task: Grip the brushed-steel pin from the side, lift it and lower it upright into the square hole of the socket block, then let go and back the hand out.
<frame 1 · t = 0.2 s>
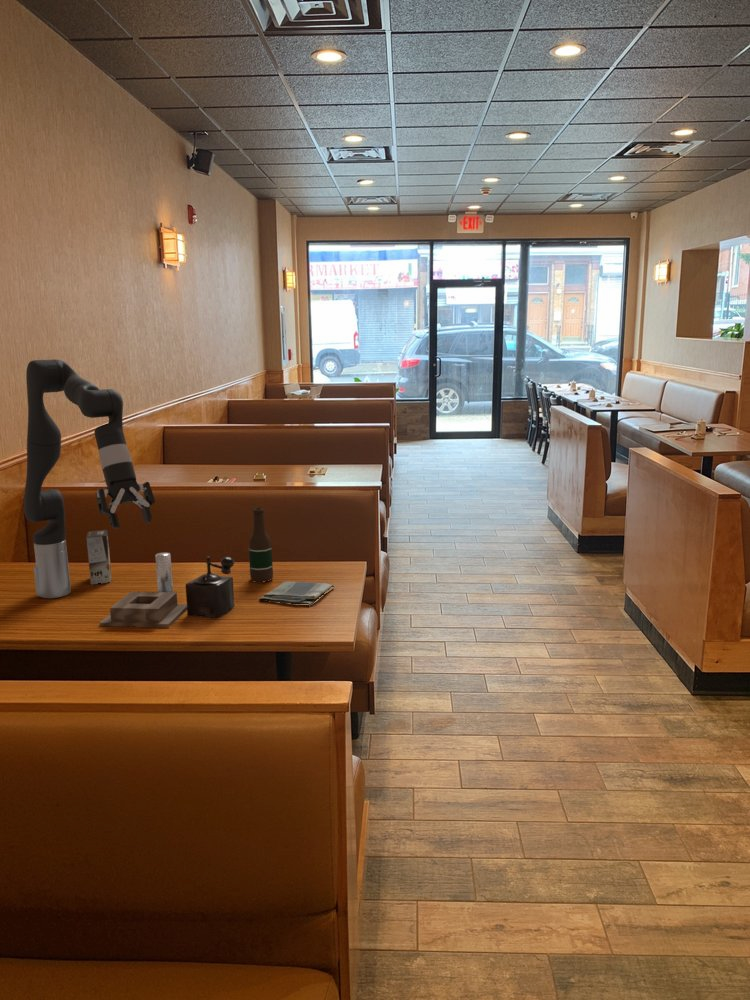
hand: (132, 525, 194), 31 cm above the table, tool tilted 20°, fingers open, 8 cm apart
dish towel: (297, 597, 235), on the table
socket block: (145, 616, 218), on the table
coffee box: (101, 580, 253), on the table
dark manual coffee grinder: (218, 612, 221), on the table
beer bottle: (261, 580, 251), on the table
pin: (166, 598, 234), on the table
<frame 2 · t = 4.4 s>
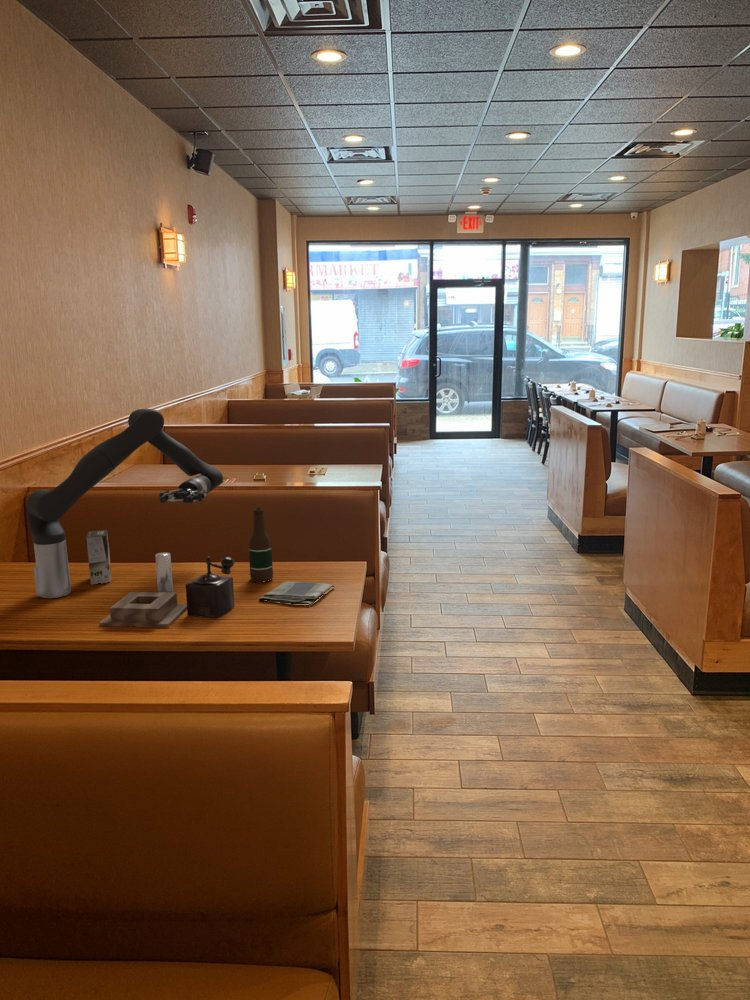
hand: (174, 500, 240), 28 cm above the table, tool horizontal, fingers open, 8 cm apart
nothing on the table moved.
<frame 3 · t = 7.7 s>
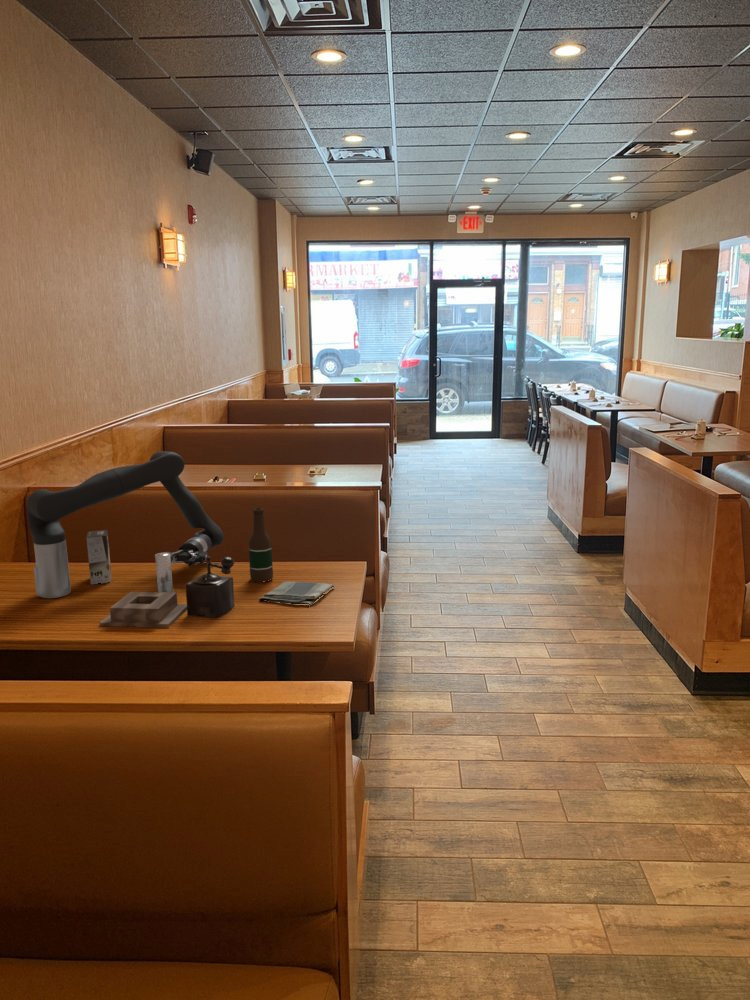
hand: (176, 563, 242), 8 cm above the table, tool horizontal, fingers open, 8 cm apart
nothing on the table moved.
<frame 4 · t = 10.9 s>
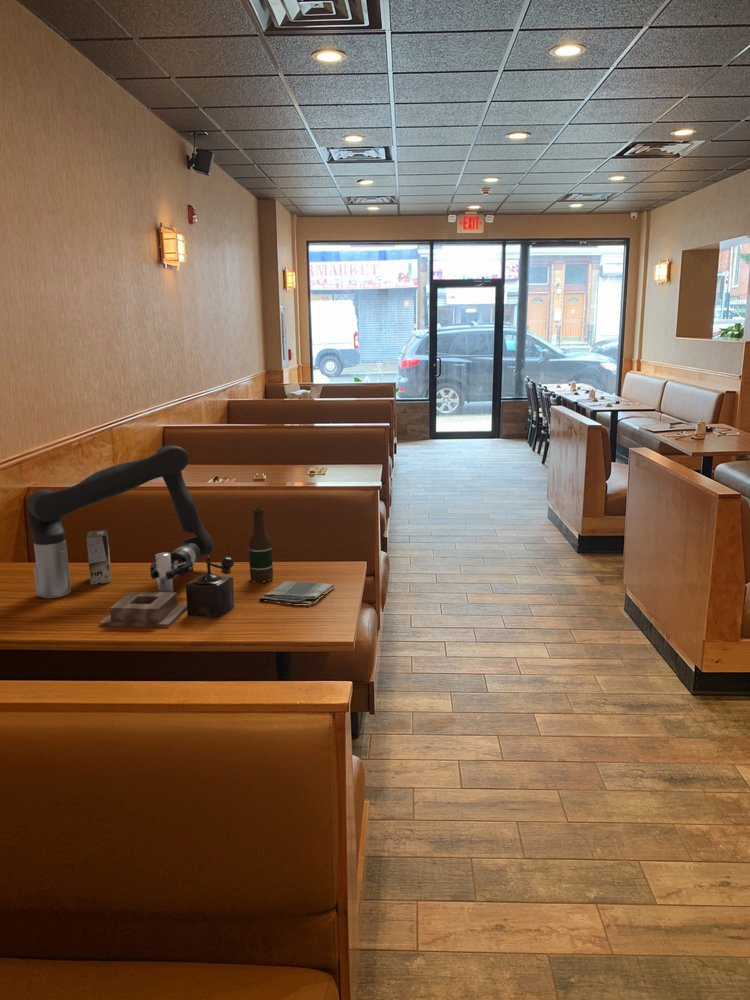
hand: (161, 575, 229), 8 cm above the table, tool horizontal, fingers closed on pin, 4 cm apart
pin: (166, 598, 234), on the table, touching gripper
everything else where it was.
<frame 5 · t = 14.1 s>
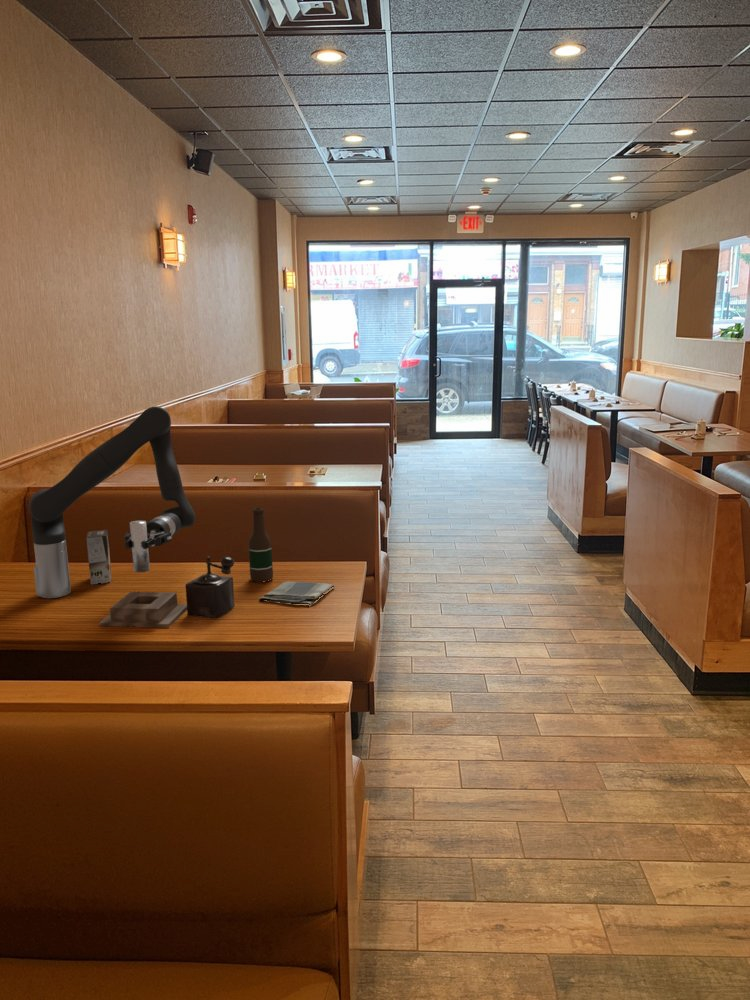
hand: (135, 545, 211), 22 cm above the table, tool horizontal, fingers closed on pin, 4 cm apart
pin: (141, 570, 215), point 14 cm above the table, touching gripper
everything else where it was.
when the fingers open (10 cm above the table, at t = 17.6 s): pin drops 1 cm, resting on socket block.
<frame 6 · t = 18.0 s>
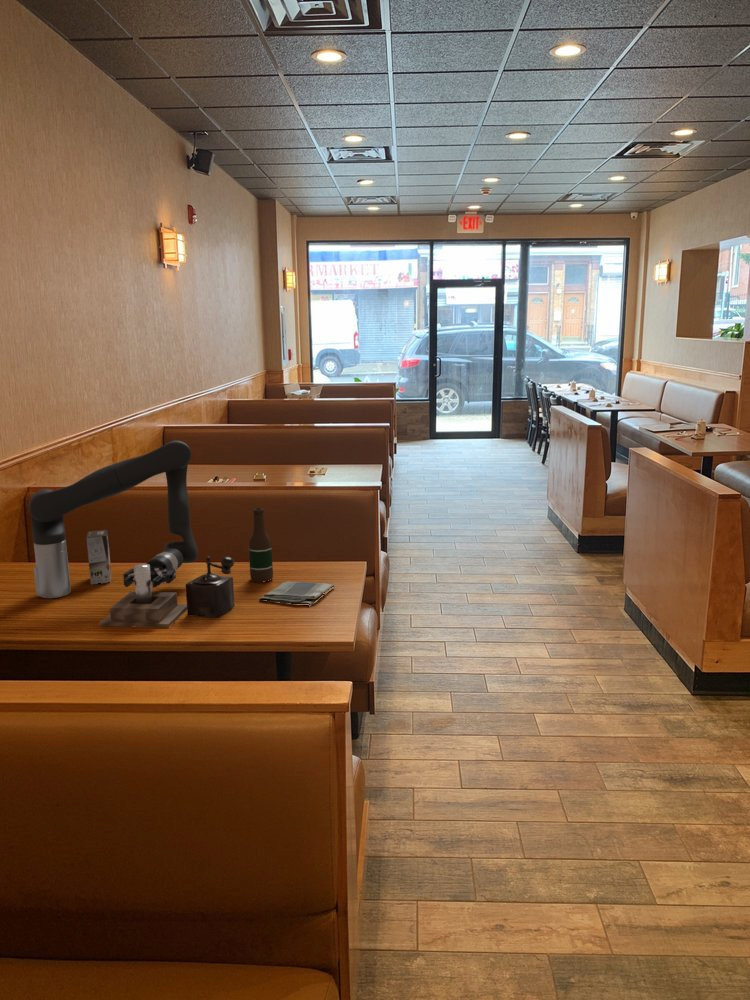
hand: (139, 583, 214), 11 cm above the table, tool horizontal, fingers open, 8 cm apart
pin: (145, 612, 218), point 1 cm above the table, touching socket block
everything else where it was.
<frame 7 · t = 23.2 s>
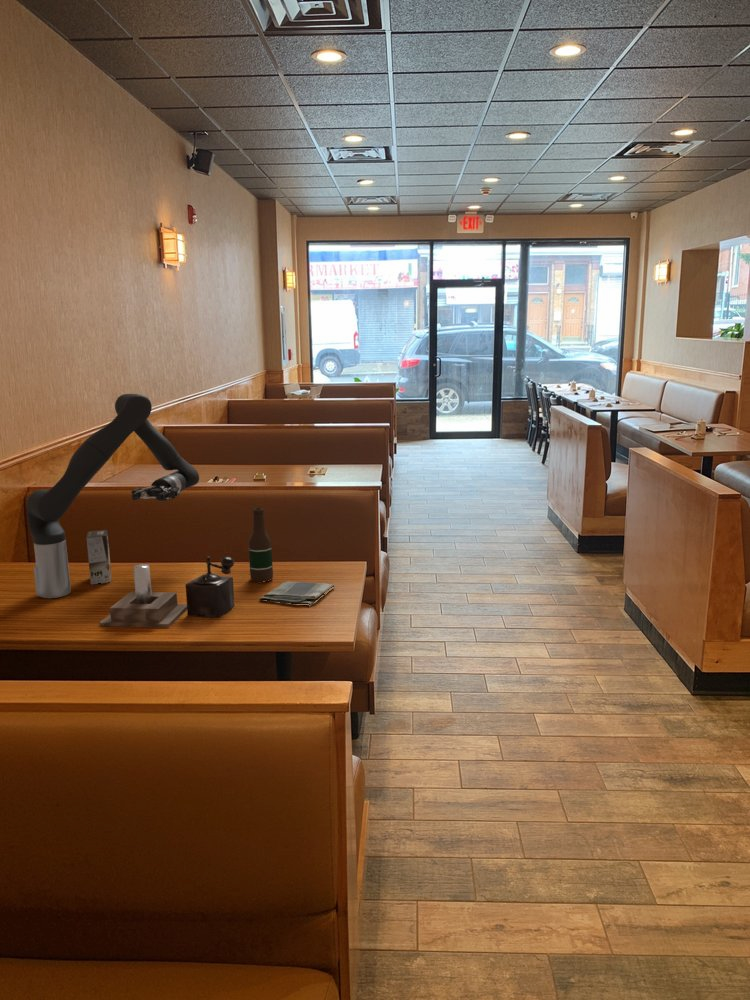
hand: (147, 497, 236), 30 cm above the table, tool horizontal, fingers open, 8 cm apart
nothing on the table moved.
at the end: pin 0.1 cm off-centre on the socket block, point 1.0 cm above the socket block's base; pin tilted 0°; the gripper is holding nothing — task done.
